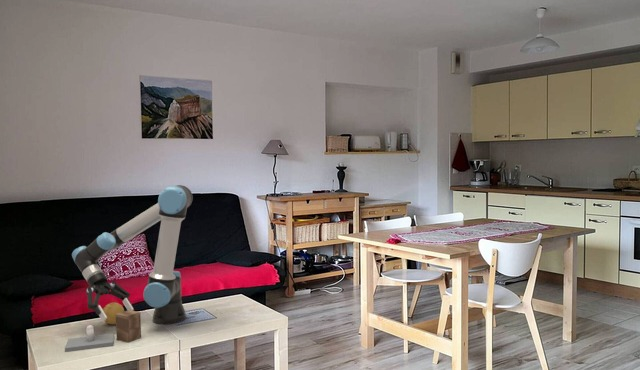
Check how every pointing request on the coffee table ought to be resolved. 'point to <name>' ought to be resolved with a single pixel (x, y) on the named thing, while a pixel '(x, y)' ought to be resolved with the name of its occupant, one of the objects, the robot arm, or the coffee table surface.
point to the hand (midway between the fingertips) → (118, 315)
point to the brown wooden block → (128, 326)
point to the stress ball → (112, 312)
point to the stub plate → (89, 341)
